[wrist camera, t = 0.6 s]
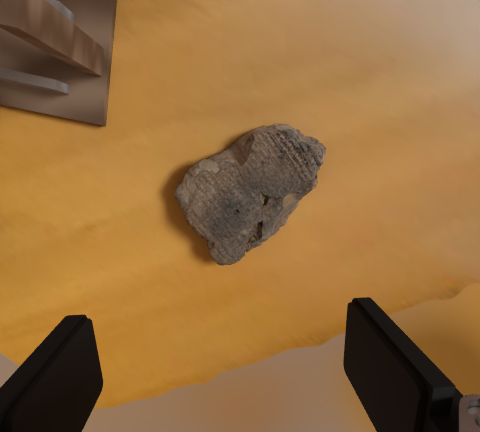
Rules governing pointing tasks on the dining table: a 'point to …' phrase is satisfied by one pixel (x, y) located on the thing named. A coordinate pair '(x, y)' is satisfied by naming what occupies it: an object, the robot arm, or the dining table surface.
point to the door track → (57, 56)
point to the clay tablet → (249, 189)
